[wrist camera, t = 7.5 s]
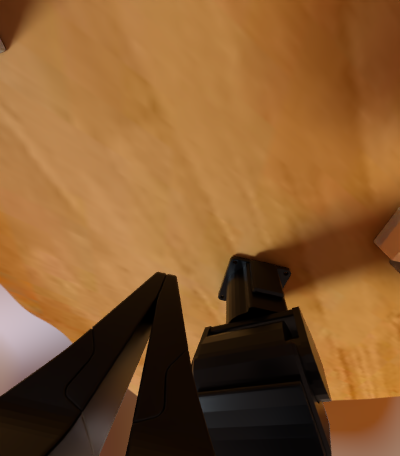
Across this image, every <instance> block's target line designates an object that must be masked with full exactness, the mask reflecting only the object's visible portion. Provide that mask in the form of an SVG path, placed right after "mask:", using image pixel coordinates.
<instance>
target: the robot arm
mask: <svg viewBox="0 0 400 456" xmlns="http://www.w3.org/2000/svg"><path fill="white" fill-rule="evenodd" d="M233 261H236V262H233ZM284 272H287V273H284ZM290 275H291V272H290V269H289V268H286V267H281V266H277V265H273V264H269V263H264V262H260V261H255V260H250V259H245V258H241V257H236V256H234V257H231V259H230V261H229V264H228V267H227V270H226V273H225V276H224V279H223V282H222V285H221V288H220V291H219V294H218V298H219V299H220V300H224V301H226V324H224V325H219V326H215V327H211V326H210V327H205V330H204V332H203V335H202V337H201V340H200V342H199V345H198V348H197V350H196V353H195V355H194V358H193V360H192V364H191V362H190V356H189V351H188V344H187V338H186V332H185V326H184V320H183V313H182V307H181V301H180V295H179V288H178V282H177V277H176V276H175V275H170V274H167V275H166V274H165V273H161V272H156V273H155V274H154V275H153V276H152V277H151V278H149V279H148V280H147V281H146V282H145V283H144V284H142V285H141V286H140V287H139V288H138V289H136V290H135V291H134V292H133V293H132V294H131V295H129V296H128V297H127V298H126V299H125V300H124V301H122V302H121V303H120V304H119V305H118V306H117V307H115V308H114V309H113V310H112V311H111V312H110V313H108V314H107V315H106V316H105V317H104V318H103V319H101V320H100V321H99V322H98V323H97V324H96V325H94V326H93V328H92V329H93V330H92V329H90V330H88V331H87V332H86V333H85V334H84V335H83V336H81V337H80V338H79V339H78V340H77V341H75V342H74V343H73V344H72V345H70V346H69V347H68V348H67V349H66V350H64V351H63V352H61V353H60V354H59V355H57V356H56V357H55V358H53V359H52V360H51V361H49V362H48V363H46V364H45V365H44V366H42V367H41V368H39V369H38V370H37V371H35V372H34V373H32V374H31V375H30V376H28V377H27V378H25V379H24V380H23V381H21V382H20V383H18V384H17V385H16V386H14V387H13V388H11V389H10V390H9V391H7V392H6V393H4V394H3V395H2V396H0V456H99V454H100V452H101V450H102V447H103V445H104V443H105V440H106V438H107V436H108V433H109V431H110V428H111V426H112V424H113V421H114V419H115V417H116V414H117V412H118V410H119V407H120V405H121V403H122V400H123V398H124V396H125V393H126V390H127V388H128V386H129V384H130V381H131V379H132V377H133V374H134V372H135V370H136V367H137V365H138V363H139V360H140V358H141V355H142V353H143V351H144V348H145V346H146V344H147V341H148V339H149V342H148V347H147V352H146V357H145V362H144V367H143V372H142V377H141V382H140V387H139V392H138V397H137V403H136V408H135V412H134V417H133V423H132V427H131V432H130V437H129V442H128V446H127V451H126V455H125V456H331V441H330V428H329V421H328V418H327V414H326V411H325V409H324V405H323V402H327V401H331V396H330V392H329V388H328V384H327V381H326V377H325V373H324V369H323V365H322V363H321V360H320V357H319V354H318V352H317V349H316V346H315V343H314V341H313V338H312V336H311V334H310V331H309V329H308V327H307V324H306V322H305V320H304V318H303V315H302V313H301V311H300V308H299V307H295V308H292V309H291V310H288V309H287V306H286V302H285V298H284V292H283V288H284V286H285V284H286V282H287V280H288V279H289V277H290Z"/></svg>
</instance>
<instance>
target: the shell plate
mask: <svg viewBox="0 0 400 456" xmlns="http://www.w3.org/2000/svg"><path fill="white" fill-rule="evenodd" d="M373 242H374V243H375V244H376V245H377V246H378V247H379V248H380V249H381V250H382V251H383V252H384V253H385V254H386V255H387V256H388V257H389V258H390V259H391V260H393V261H397V262H400V207H399V208H398V209H397V211H396V212H395V213H394V215H393V216H392V217H391V219H390V220H389V221H388V223H387V224H386V225H385V227H384V228H383V229H382V231H381V232H380V233H379V235H378V236H377V237H376V238H375V240H374V241H373Z"/></svg>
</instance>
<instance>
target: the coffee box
mask: <svg viewBox="0 0 400 456" xmlns="http://www.w3.org/2000/svg"><path fill="white" fill-rule="evenodd" d="M4 51H5V47H4V45H3V43H2V41H1V39H0V53H1V52H4Z"/></svg>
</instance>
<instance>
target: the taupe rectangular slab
mask: <svg viewBox="0 0 400 456" xmlns="http://www.w3.org/2000/svg"><path fill="white" fill-rule="evenodd" d="M389 263H390V264H391V265H392V266H393V267H394V268H395V269H396V270H397V271H398V272H399V273H400V262H397V261H393V260H390V261H389Z"/></svg>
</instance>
